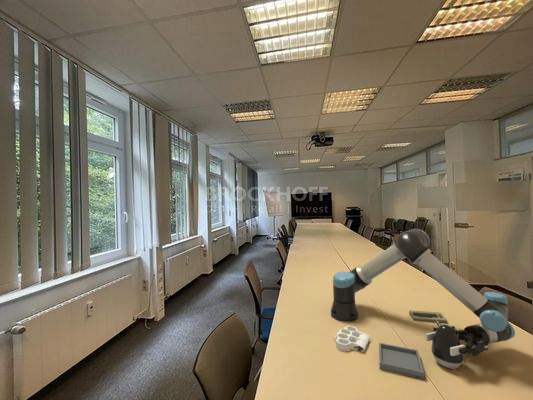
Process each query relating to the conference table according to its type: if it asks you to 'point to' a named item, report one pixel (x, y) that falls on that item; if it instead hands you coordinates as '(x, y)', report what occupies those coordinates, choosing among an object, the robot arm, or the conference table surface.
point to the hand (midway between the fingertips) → (438, 344)
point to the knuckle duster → (351, 339)
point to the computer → (427, 316)
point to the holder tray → (400, 360)
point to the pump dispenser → (446, 346)
